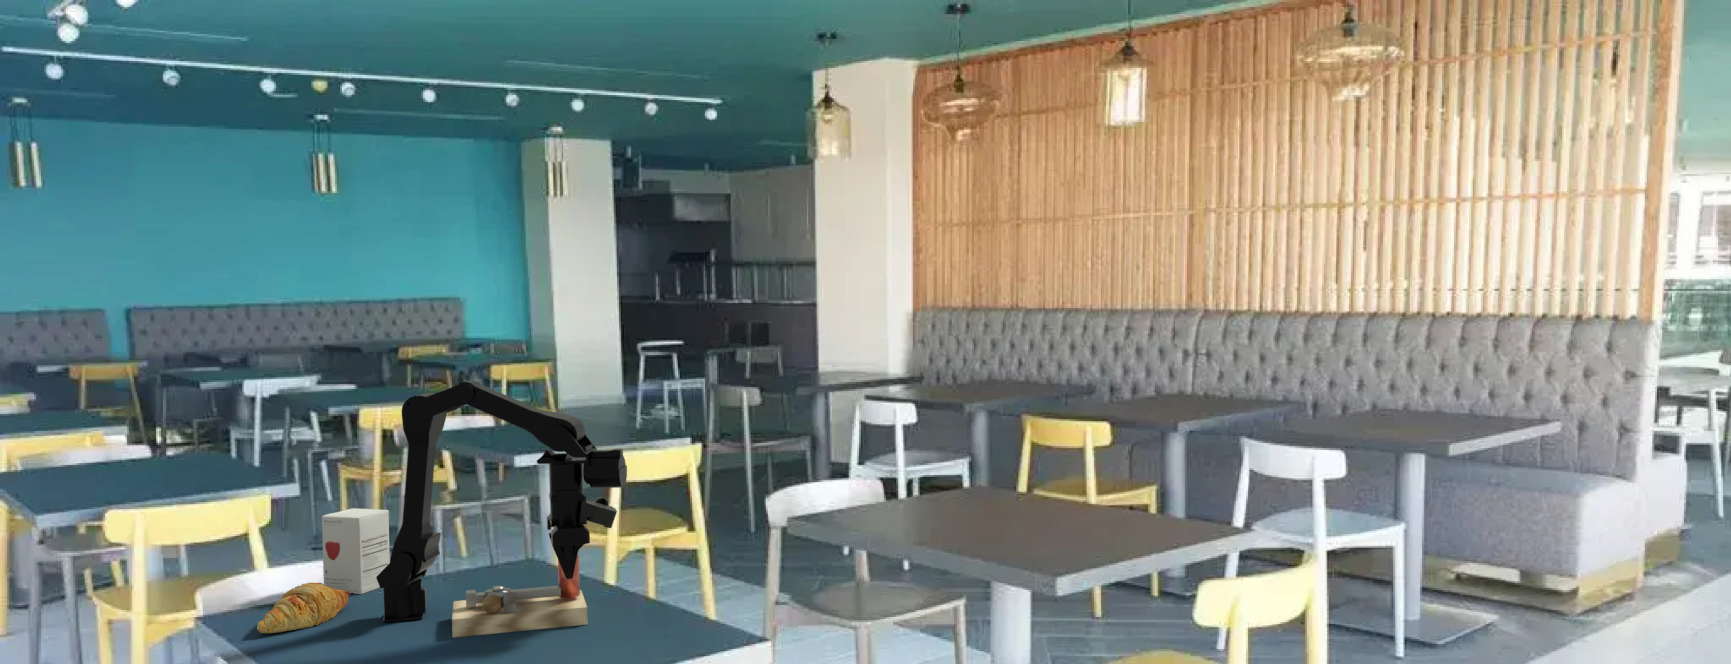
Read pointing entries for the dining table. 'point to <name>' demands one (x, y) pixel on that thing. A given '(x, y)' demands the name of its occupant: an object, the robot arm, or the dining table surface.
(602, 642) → the dining table surface
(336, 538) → the supplement box
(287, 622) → the croissant
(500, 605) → the walnut
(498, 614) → the block
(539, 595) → the lever
